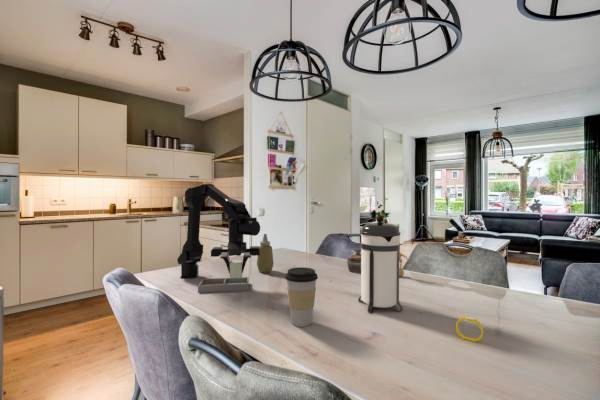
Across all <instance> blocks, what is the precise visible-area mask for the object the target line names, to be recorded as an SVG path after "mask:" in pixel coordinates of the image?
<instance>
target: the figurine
mask: <svg viewBox="0 0 600 400" xmlns="http://www.w3.org/2000/svg"><path fill="white" fill-rule="evenodd" d="M402 257H404V258H405V259H406V260H407V263H410V260H409V258H408V257H407V256H406V255H405V254H402V253H401V251H400V250H399V278H400V277H403V276H404V275H405V271H404V269H403V268H402V265H403V259H402Z"/></svg>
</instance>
